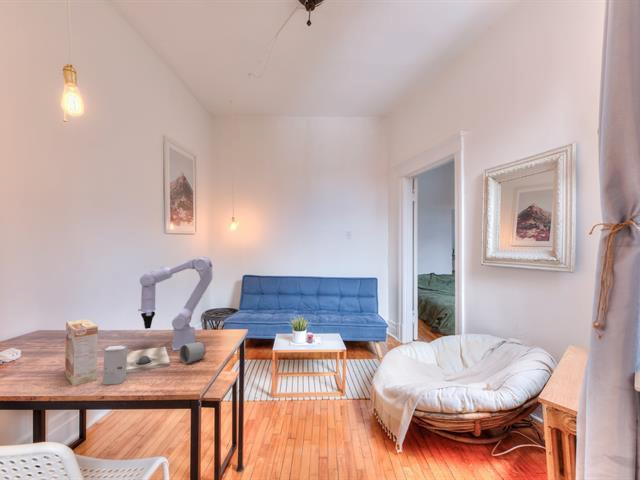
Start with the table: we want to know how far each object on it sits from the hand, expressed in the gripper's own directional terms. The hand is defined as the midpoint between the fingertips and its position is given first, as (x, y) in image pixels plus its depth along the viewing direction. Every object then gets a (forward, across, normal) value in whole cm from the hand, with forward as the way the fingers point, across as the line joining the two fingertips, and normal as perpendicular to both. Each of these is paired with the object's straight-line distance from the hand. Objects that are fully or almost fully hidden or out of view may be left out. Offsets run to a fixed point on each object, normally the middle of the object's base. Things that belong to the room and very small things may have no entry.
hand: (147, 328), depth 141 cm
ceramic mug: (+10, +26, +15) cm, 31 cm away
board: (+9, +17, -2) cm, 20 cm away
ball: (+7, +23, -2) cm, 24 cm away
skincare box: (+10, +34, -11) cm, 37 cm away
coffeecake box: (+10, +23, -22) cm, 33 cm away
